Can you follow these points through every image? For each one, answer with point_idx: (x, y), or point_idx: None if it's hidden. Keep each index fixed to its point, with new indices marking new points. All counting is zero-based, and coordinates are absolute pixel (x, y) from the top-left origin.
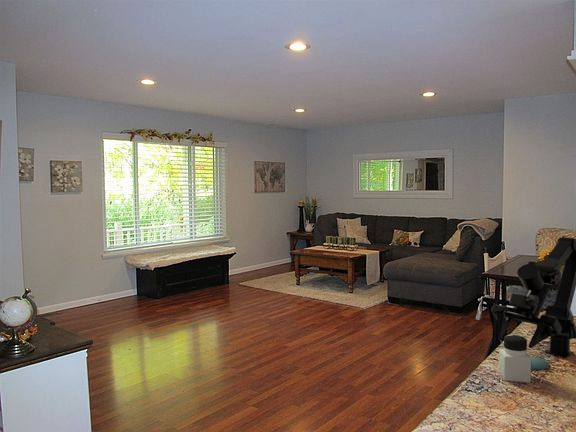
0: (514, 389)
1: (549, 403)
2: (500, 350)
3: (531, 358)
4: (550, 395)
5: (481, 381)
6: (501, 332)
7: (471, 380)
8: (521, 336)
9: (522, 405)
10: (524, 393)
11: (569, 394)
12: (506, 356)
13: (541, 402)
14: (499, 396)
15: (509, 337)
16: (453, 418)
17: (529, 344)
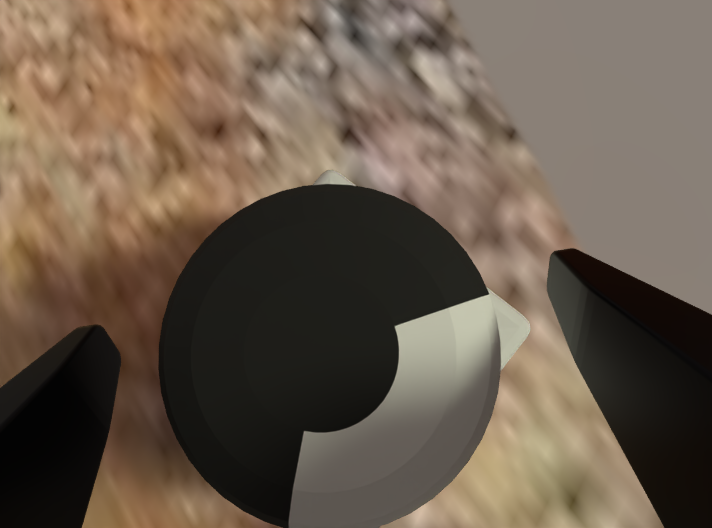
0: (233, 173)
1: (18, 188)
2: (488, 290)
3: None
4: (69, 288)
5: (415, 94)
6: (608, 335)
7: (456, 52)
8: (278, 464)
9: (86, 43)
10: (168, 178)
11: None
12: (323, 181)
13: (49, 160)
14: (219, 24)
15: (351, 234)
16: None
17: (76, 335)
